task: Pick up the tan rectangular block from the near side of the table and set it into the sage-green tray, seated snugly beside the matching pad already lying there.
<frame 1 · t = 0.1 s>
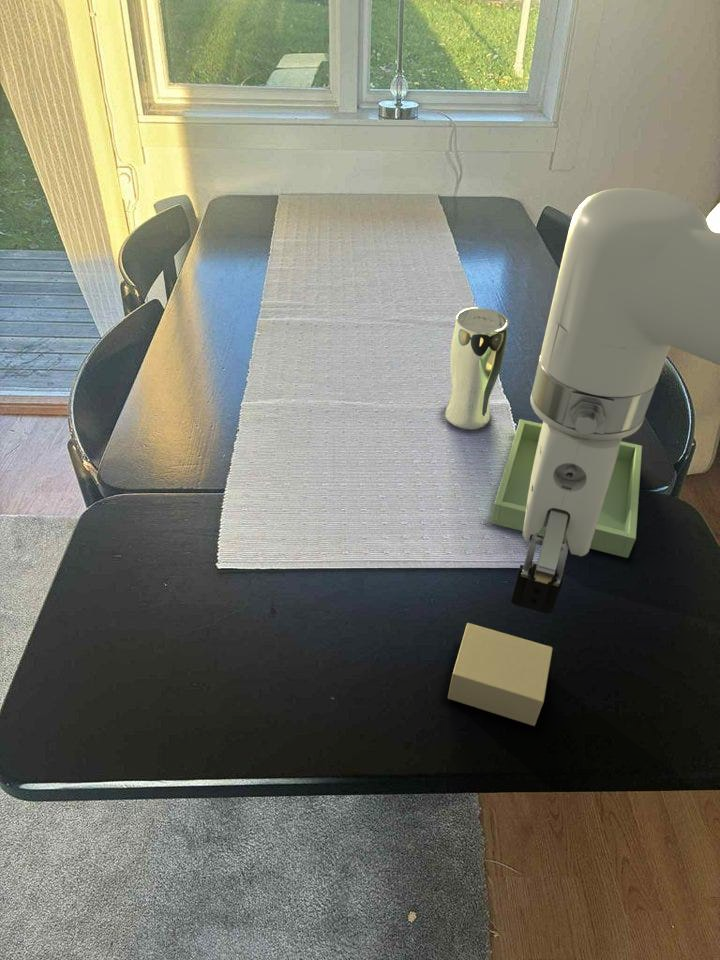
hand: (540, 562, 58), 14 cm above the table, tool pointing down, fingers open, 9 cm apart
tan rectangular block: (496, 685, 65), on the table
seated pad: (571, 466, 89), resting on tray
tray: (566, 492, 86), on the table
beer glass: (466, 418, 98), on the table
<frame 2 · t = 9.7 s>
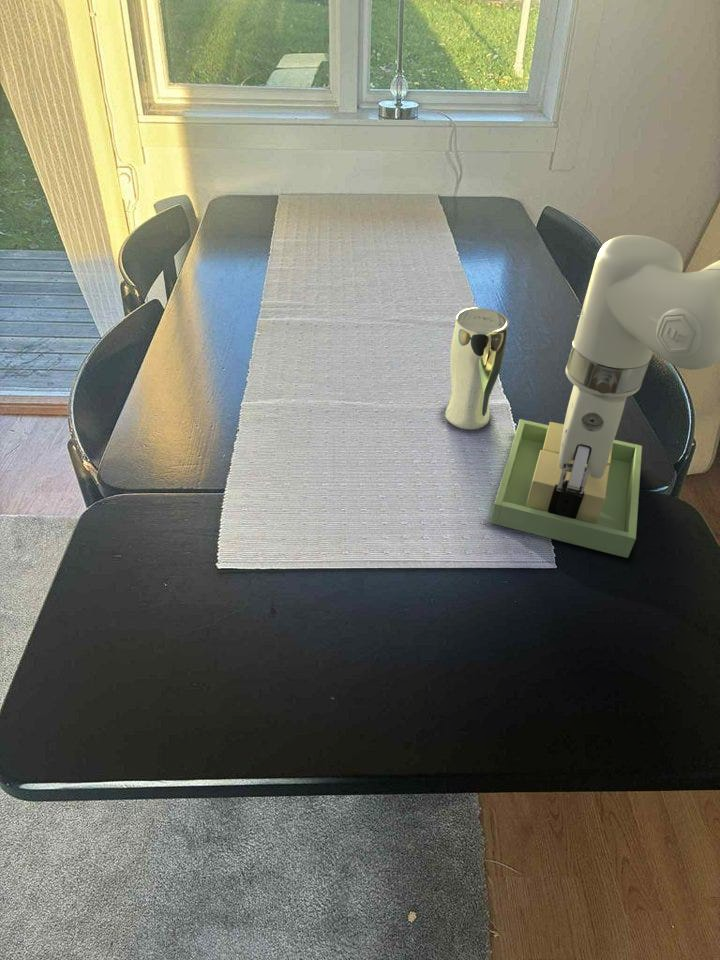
hand: (565, 495, 82), 3 cm above the table, tool pointing down, fingers closed on tan rectangular block, 6 cm apart
tan rectangular block: (563, 498, 82), point 2 cm above the table, touching gripper
everything else where it was.
when the fingers open (3 cm above the table, at t = 14.1 s): tan rectangular block drops 1 cm, resting on tray.
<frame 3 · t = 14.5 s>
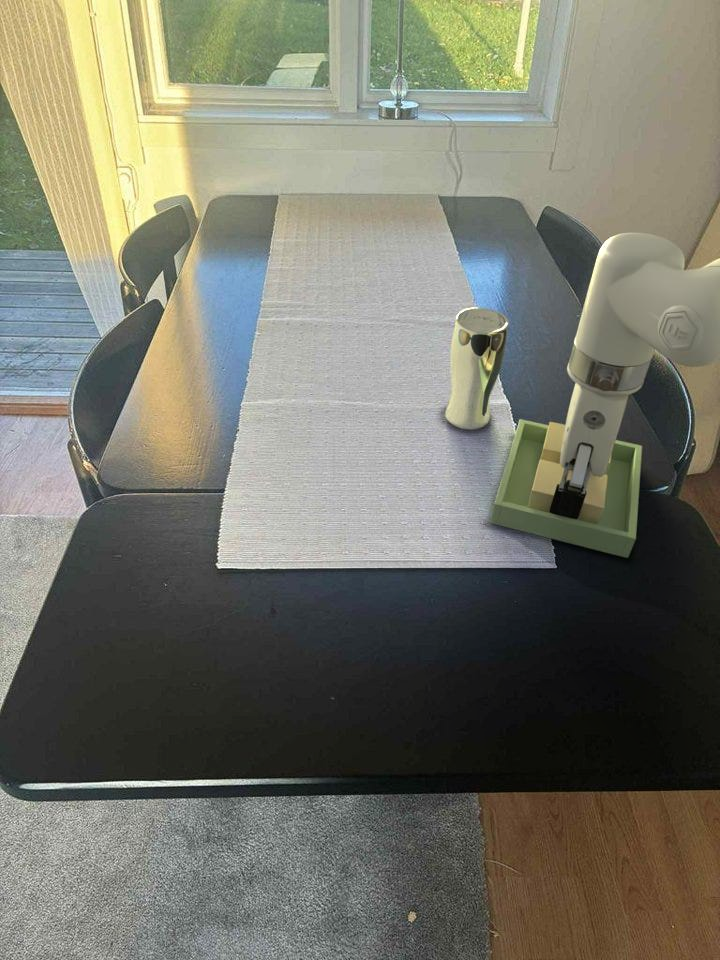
hand: (567, 492, 82), 3 cm above the table, tool pointing down, fingers open, 7 cm apart
tan rectangular block: (563, 507, 83), point 1 cm above the table, touching tray
everything else where it was.
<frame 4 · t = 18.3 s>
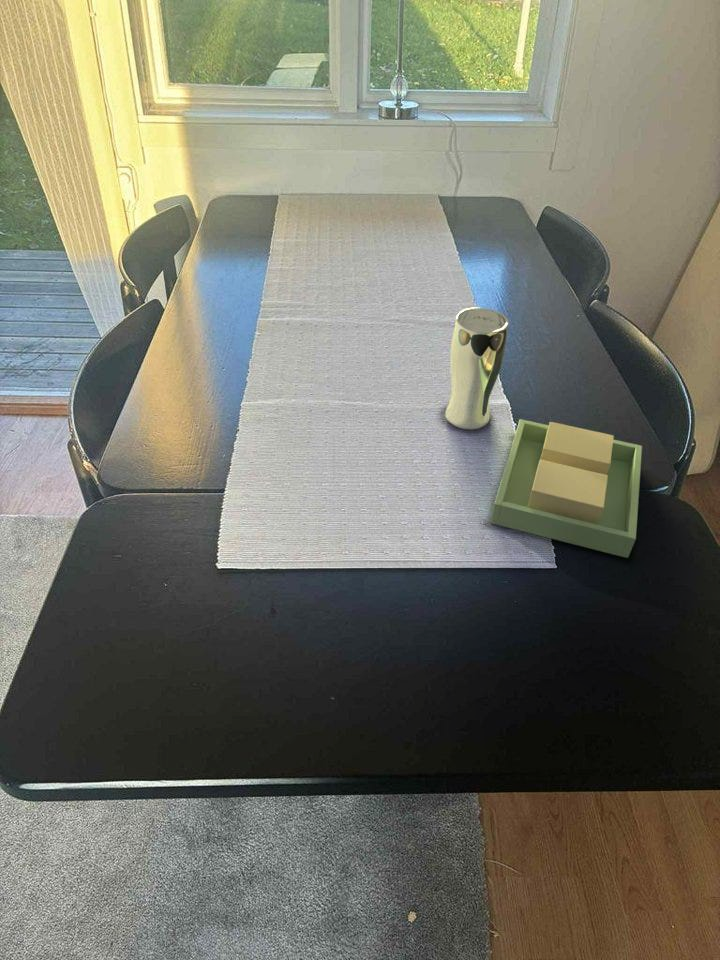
nothing on the table moved.
at the end: tan rectangular block 0.3 cm from the target spot in the tray, point 0.6 cm above the tray's base; tan rectangular block tilted 0°; the gripper is holding nothing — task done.
